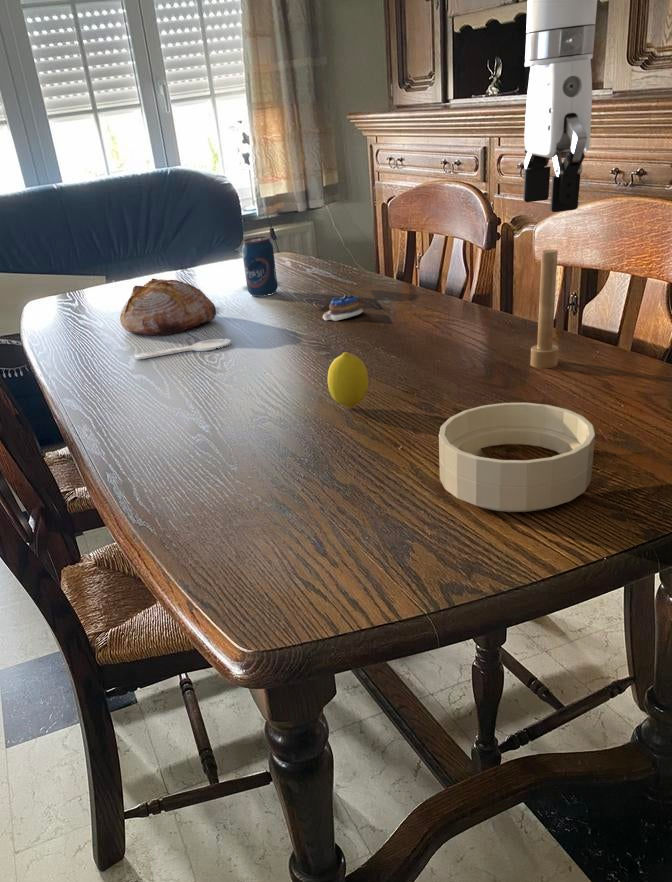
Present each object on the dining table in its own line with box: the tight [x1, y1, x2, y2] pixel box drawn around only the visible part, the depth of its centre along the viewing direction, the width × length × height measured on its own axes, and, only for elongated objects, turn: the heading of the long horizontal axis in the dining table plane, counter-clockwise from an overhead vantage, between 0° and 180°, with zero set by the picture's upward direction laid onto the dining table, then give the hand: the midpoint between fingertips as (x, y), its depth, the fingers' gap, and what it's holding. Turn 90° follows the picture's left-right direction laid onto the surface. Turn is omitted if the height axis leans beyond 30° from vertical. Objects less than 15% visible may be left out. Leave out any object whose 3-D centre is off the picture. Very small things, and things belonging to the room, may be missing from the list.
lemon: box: [327, 351, 370, 410], centre depth 102 cm, size 6×6×8 cm
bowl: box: [438, 402, 596, 513], centre depth 78 cm, size 15×15×6 cm
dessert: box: [322, 294, 364, 322], centre depth 146 cm, size 8×7×6 cm
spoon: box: [133, 338, 232, 360], centre depth 138 cm, size 5×18×1 cm, turn 100°
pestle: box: [530, 249, 559, 369], centre depth 102 cm, size 4×4×17 cm
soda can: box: [241, 236, 279, 297], centre depth 168 cm, size 7×7×12 cm
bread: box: [119, 277, 217, 337], centre depth 153 cm, size 16×20×10 cm
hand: (549, 205), depth 95 cm, fingers open, 9 cm apart
